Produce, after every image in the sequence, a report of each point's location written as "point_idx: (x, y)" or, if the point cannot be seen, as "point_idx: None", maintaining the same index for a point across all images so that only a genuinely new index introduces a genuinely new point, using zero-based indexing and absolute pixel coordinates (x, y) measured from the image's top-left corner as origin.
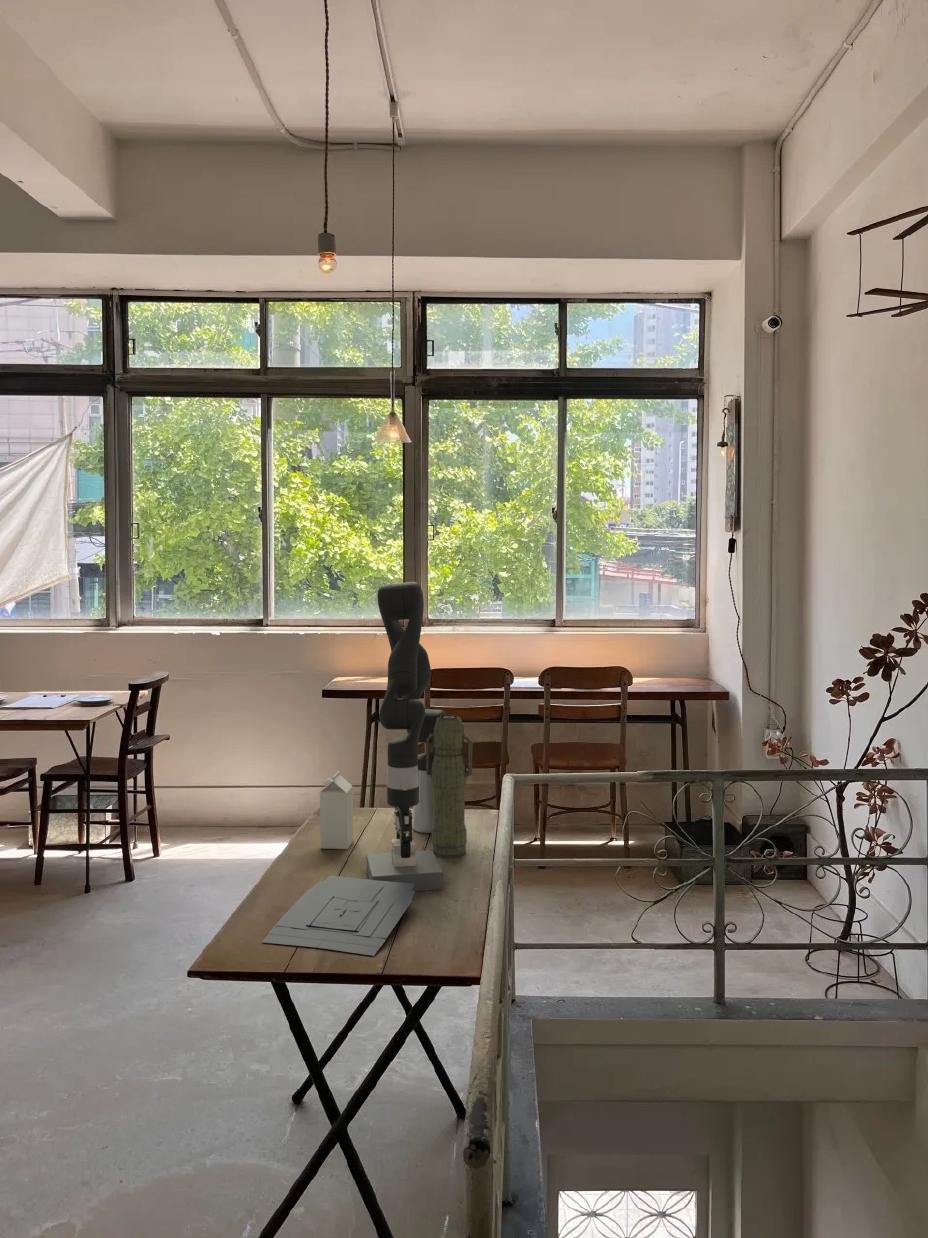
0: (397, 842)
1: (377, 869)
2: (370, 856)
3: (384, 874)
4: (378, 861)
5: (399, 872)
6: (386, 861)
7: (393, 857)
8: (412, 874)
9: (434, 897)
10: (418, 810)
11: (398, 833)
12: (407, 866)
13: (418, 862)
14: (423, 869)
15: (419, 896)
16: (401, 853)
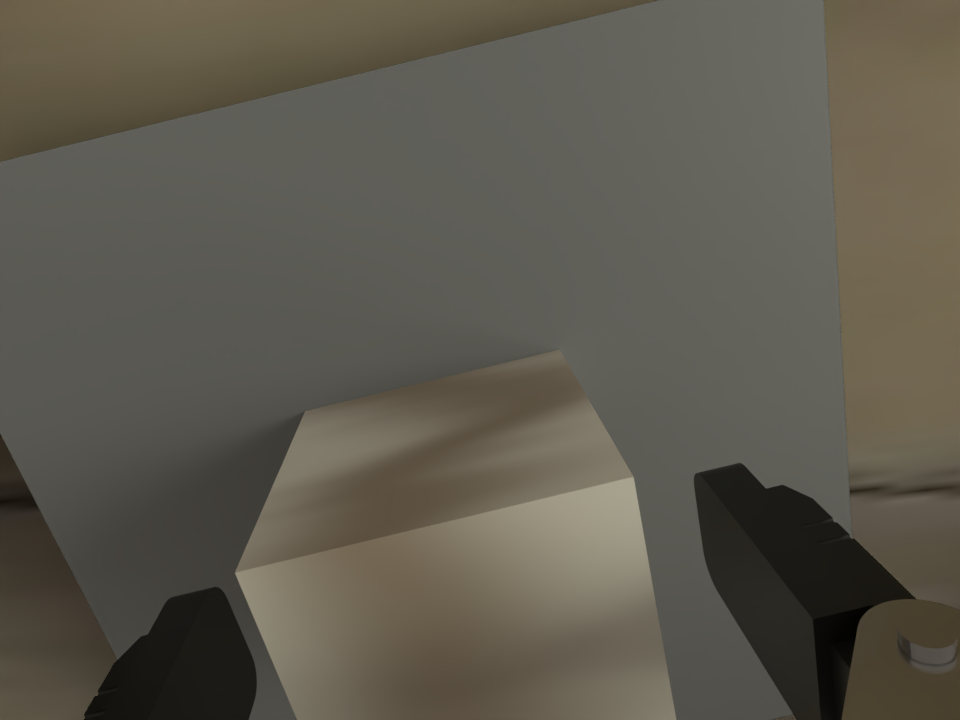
0: (445, 601)
1: (171, 221)
2: (713, 39)
3: (3, 338)
4: (502, 188)
5: (118, 496)
6: (501, 294)
7: (349, 441)
8: (102, 622)
9: (69, 684)
10: None
11: (795, 620)
12: None
13: None
14: (263, 702)
15: (63, 584)
16: (154, 639)
